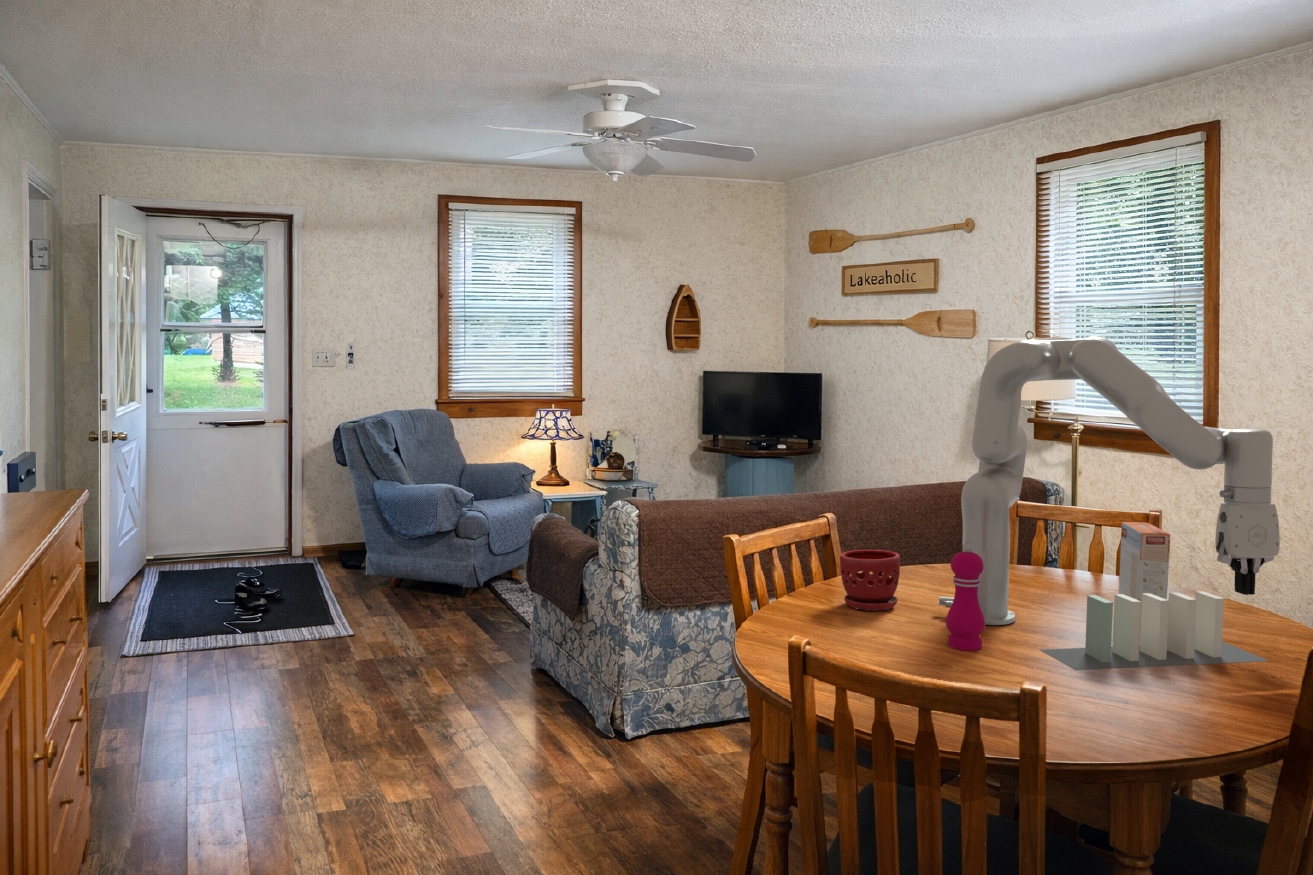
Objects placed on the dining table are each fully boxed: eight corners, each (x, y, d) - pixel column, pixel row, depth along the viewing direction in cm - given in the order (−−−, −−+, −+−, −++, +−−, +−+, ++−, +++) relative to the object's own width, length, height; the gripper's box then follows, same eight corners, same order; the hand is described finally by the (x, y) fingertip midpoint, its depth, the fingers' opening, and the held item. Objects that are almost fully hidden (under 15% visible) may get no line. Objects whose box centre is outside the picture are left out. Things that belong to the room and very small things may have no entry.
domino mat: (1075, 672, 173) (1075, 669, 173) (1039, 652, 185) (1039, 649, 185) (1269, 663, 178) (1269, 660, 178) (1222, 644, 190) (1223, 641, 190)
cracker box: (1167, 637, 195) (1172, 533, 193) (1134, 635, 196) (1139, 532, 194) (1146, 618, 208) (1151, 521, 207) (1116, 617, 210) (1120, 520, 208)
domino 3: (1185, 658, 179) (1188, 599, 178) (1166, 649, 185) (1168, 592, 184) (1193, 658, 179) (1196, 599, 178) (1174, 649, 185) (1176, 592, 184)
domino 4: (1213, 657, 180) (1216, 598, 179) (1192, 648, 185) (1195, 591, 184) (1221, 657, 180) (1224, 598, 179) (1200, 648, 186) (1203, 591, 185)
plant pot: (897, 600, 224) (898, 548, 223) (901, 615, 211) (902, 560, 210) (839, 597, 226) (839, 546, 225) (839, 612, 213) (840, 558, 212)
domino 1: (1130, 661, 178) (1132, 601, 177) (1112, 652, 183) (1114, 594, 182) (1138, 660, 178) (1141, 601, 177) (1120, 651, 183) (1122, 594, 182)
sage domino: (1102, 662, 177) (1104, 602, 176) (1085, 653, 182) (1087, 595, 181) (1110, 661, 177) (1113, 602, 176) (1093, 652, 183) (1095, 594, 182)
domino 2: (1158, 659, 178) (1160, 600, 178) (1139, 650, 184) (1141, 593, 183) (1166, 659, 179) (1169, 600, 178) (1147, 650, 184) (1149, 593, 183)
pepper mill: (964, 653, 184) (967, 548, 182) (937, 643, 190) (939, 542, 188) (992, 648, 187) (995, 545, 185) (964, 638, 193) (967, 539, 192)
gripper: (1224, 499, 176) (1222, 599, 178) (1299, 496, 178) (1296, 595, 180) (1196, 494, 184) (1194, 590, 185) (1268, 491, 186) (1265, 586, 187)
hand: (1244, 592), depth 182 cm, fingers closed
